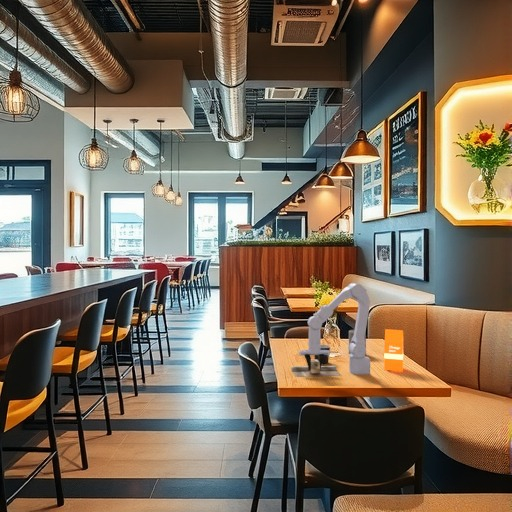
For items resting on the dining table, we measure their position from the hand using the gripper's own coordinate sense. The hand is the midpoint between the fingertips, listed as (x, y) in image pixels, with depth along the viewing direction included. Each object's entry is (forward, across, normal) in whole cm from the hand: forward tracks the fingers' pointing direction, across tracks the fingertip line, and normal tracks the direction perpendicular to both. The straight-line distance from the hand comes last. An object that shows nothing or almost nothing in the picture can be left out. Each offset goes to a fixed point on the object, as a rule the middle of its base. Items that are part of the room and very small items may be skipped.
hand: (314, 370), depth 218 cm
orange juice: (+3, -43, -10) cm, 44 cm away
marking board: (+3, -1, 0) cm, 3 cm away
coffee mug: (+3, -7, -18) cm, 20 cm away
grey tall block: (+3, -34, -42) cm, 54 cm away
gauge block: (+1, 0, 0) cm, 1 cm away
